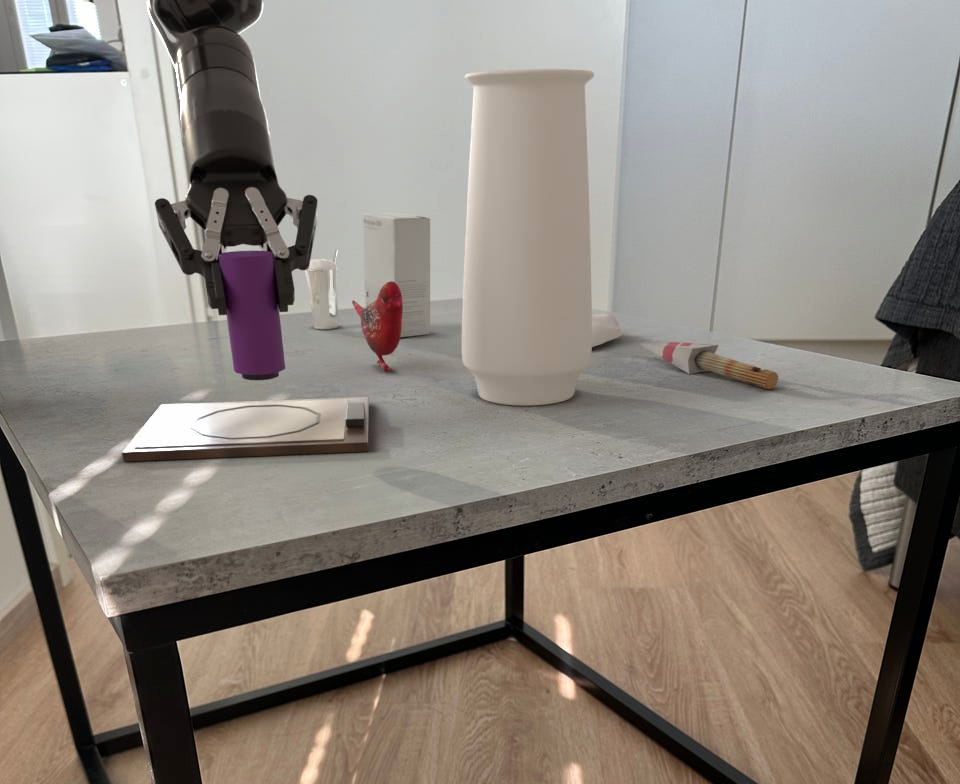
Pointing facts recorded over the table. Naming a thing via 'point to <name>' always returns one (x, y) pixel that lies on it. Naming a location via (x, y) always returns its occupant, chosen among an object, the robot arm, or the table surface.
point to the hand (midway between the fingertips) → (253, 306)
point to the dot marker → (253, 313)
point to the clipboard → (252, 429)
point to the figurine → (604, 328)
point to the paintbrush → (710, 362)
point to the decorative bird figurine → (382, 321)
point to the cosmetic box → (399, 264)
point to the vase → (527, 236)
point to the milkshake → (323, 292)
